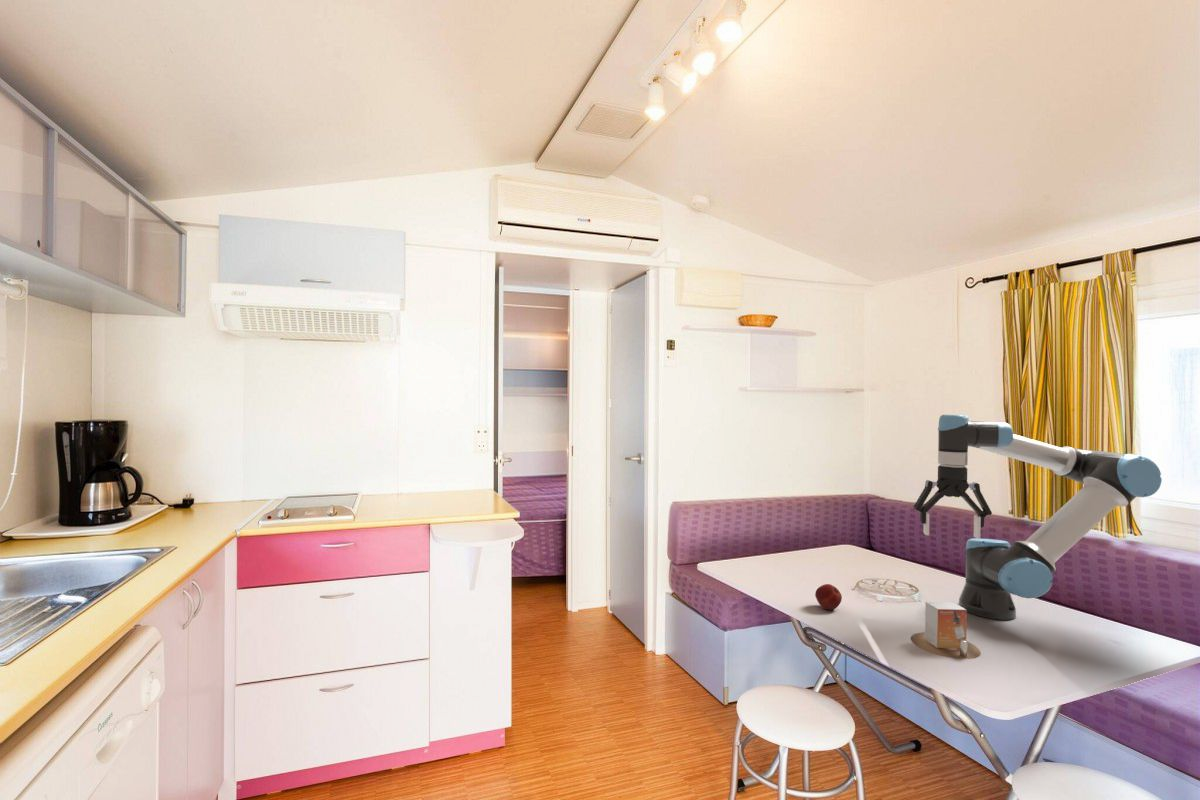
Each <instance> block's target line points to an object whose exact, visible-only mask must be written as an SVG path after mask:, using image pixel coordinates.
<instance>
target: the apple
mask: <svg viewBox="0 0 1200 800" xmlns="http://www.w3.org/2000/svg"><path fill="white" fill-rule="evenodd" d="M842 596H843V595H842V593H841V592H840V590H839V589H838V588H837V587H836V586H834V585H832V584H830V583H826V584H825V583H824V584H823V585H820V586H818V588H817V589H816V590H815V595H814V597H815V599H816V601H817V603H818V604H819V606H820V607H821V608H823V609H824V610H828V611H832V610H835V609H837V608H838V607H839V606H840V604H841V603H842V599H843V597H842Z"/></svg>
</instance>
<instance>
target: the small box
mask: <svg viewBox="0 0 1200 800" xmlns="http://www.w3.org/2000/svg"><path fill="white" fill-rule="evenodd" d="M924 609H925V611H924V613H925V617H924V620H925V621H924V632H925V640H926V641H928V642H929V643H931V644H932V645H933V646H935V647H936V648H957V649H960V639H963V640H966V641H967V622H968V621H967V618H968V617H967V614H968V612H967V610H966V609H964V608H963V607H961V606H959V604H957V603H956V602H938V601H937V602H936V601H935V602H932V601H931V602H930V601H925V607H924Z"/></svg>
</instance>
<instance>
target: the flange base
mask: <svg viewBox="0 0 1200 800" xmlns="http://www.w3.org/2000/svg"><path fill="white" fill-rule="evenodd" d="M910 640H911V642H912V643H913V644H914V645H915V646H916V647H918V648H920V649H921V650H924V651H926V652H929V653H931V654H935V655H937V656H938V655H939V656H941V657H946V658H951V659H957V660H958V659H959V660H972V659H977V658H979V657H980V656H981V655H982V652H981V650H980V649H979V648H978V646H976V645H975V644H972V643H971V642H970V641H967V658H964V657H961V656H960V649H957V648H936V647H935V646H933V645H932V644H931V643H929V642H928V641H926V640H925V631H924V632H917V633H916V632H915V633H913V634H912V635H911V636H910Z"/></svg>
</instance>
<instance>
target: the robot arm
mask: <svg viewBox="0 0 1200 800" xmlns="http://www.w3.org/2000/svg"><path fill="white" fill-rule="evenodd" d="M938 419H939V420H938V428H937V431H938V443H937V445H938V446H937V447H938V452H937V463H938V466H937V480H936V481H934V480H933V481H932V480H929V479H926V480H925V485H924V488H923V490H922V492H921V493H920V495H919V496H918V498H917V500H916V501H915V503H914V505H913V509H914V510H915V511H916V512H919V515H920V516H919V521H920V523H921V524H923V529H922V530H923V534H924V535H925V536H930V513H928V512H929V511H930V510H931V509H932V508H933V507H934V506H935V505H936V504H937V503H938V502H939V501H940V500H941V499H943V498H944V497H947V498H952V497H955V498H962V499H963V500H964V501H965V502H966V504H967V505H968V506H969V507H970V508H971V509H972V510H973V511H974V512H975V513H976V514H973V538H969V539H967V541H966V545H965V583H964V586H963V589H962V591H961V593H960V595H959V597H958V605H959V606H961V607H963V608H964V609H966V610H967V613H970V614H972V615H975V616H978V617H982V618H987V619H991V620H992V619H993V620H999V621H1000V620H1002V621H1003V620H1007V621H1010V620H1013V619H1016V617H1017V608H1016V605H1015V602H1014V600H1013V596H1012V595H1014V596H1018V597H1020V598H1024V599H1036V598H1039V597H1041V596H1043V595H1045V594H1047V593H1048V592H1049V590H1050V589H1051V588H1052V586H1053V577H1054V576H1053V574H1054V573H1055V572H1056V571H1057V570H1056V569H1057V568H1056V562H1057V561H1058V560H1059V559H1060V558H1062V556H1064V555H1065V554H1066V553H1067V552H1068V551H1070V550H1071V548H1072V547H1073V546H1075V545H1076V544H1077V543H1078V542H1079V541H1080V540H1081V539H1083V537H1085V535H1087V534H1088V533H1089V532H1090V531H1092V529H1093V528H1094V527H1096V525H1098V524H1099V523H1100V522H1101V521H1102V520H1103V519H1104V518H1106V516H1108V515H1109V514H1110V513H1111V512H1112V511H1113V510H1114V509H1116V507H1127V506H1128V505H1129V504H1130V503H1131V502H1133V501H1134V500H1135V499H1136V498H1145V497H1146V498H1148V497H1151V496H1153V495H1154V494H1156V493H1157V492H1158V491H1159V489H1160V488H1161V484H1162V477H1161V475H1162V473H1161V470H1160V467H1159V466H1158V465H1157V464H1156V463H1155V462H1154V461H1153V460H1152V459H1151V458H1148V457H1146V456H1143V455H1137V454H1135V453H1119V452H1112V451H1111V452H1110V451H1103V450H1092V449H1089V450H1088V449H1082V448H1075V447H1071V446H1068V445H1066V446H1065V445H1064V446H1062V447H1060V446H1056V445H1053V444H1049V443H1046V442H1042V441H1039V440H1035V439H1031V438H1028V437H1025V436H1021V435H1018V434H1014V430H1013V428H1012V426H1011V424H1009V422H1008V423H1007V422H1002V421H1001V422H999V421H978V420H977V421H976V420H969V417H968V415H966V414H941V415H940V416H939V418H938ZM969 447H972V448H976V449H980V450H984V451H986V452H990V453H992V454H997V455H1000V456H1003V457H1006V458H1007V457H1008V458H1010V459H1014V460H1017V461H1021V462H1024V463H1027V464H1031V465H1035V466H1037V467H1041V468H1045V469H1047V470H1051V471H1052V472H1053V474H1054V475H1056V476H1060V477H1064V478H1067V479H1069V480H1072V481H1075V482H1077V483H1080V484H1082V485H1083V487H1082V488H1081V489H1080V490H1079V491H1077V492H1076V493H1075V494H1074V495H1073V496H1072V497H1071V498H1070V499H1069V500H1068V501H1067V502H1066V503H1065V504H1063V506H1061V507H1060V509H1058V510H1057V511H1056V512H1055V513H1054V514H1053V515H1051V517H1049V519H1047V520H1046V521H1045V522H1044V523H1043V524H1042V525H1041V526H1039V528H1037V530H1036V531H1034V532H1033V533H1032V534H1031V535H1030V536H1029V537H1028V538H1027V539H1026V540H1016V541H1015V542H1013V544H1011V543H1010V542H1009V541H1007V540H1002V539H992V538H981V528H984V526H985V518H986V516H992V513H993V512H992V511H991V508H990V506H989V504H988V503H987V501H986V498H985V497H984V496H983V493H982V492H981V485H980V484H979V483H978V482H975V481H974V482H968V468H967V466H968V465H969V463H968V460H969V459H968V455H969V453H968V452H969ZM935 487H937V489H938V490H936V491H935V492H934V494H933V495H932V496H931V497H930V498H929V499H928V500H927V498H928V497H929V496H930V493H931V492H932V490H933V489H934V488H935ZM968 489H970V490H971V491H972V492H973V494H974V497H975V498H976V500H977V502H978V504H976V503H975V501H974V500H973V499H972V498H971V497H970V495H969V493H967V490H968ZM926 500H927V501H926ZM978 505H979V506H980V507H979V506H978Z"/></svg>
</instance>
